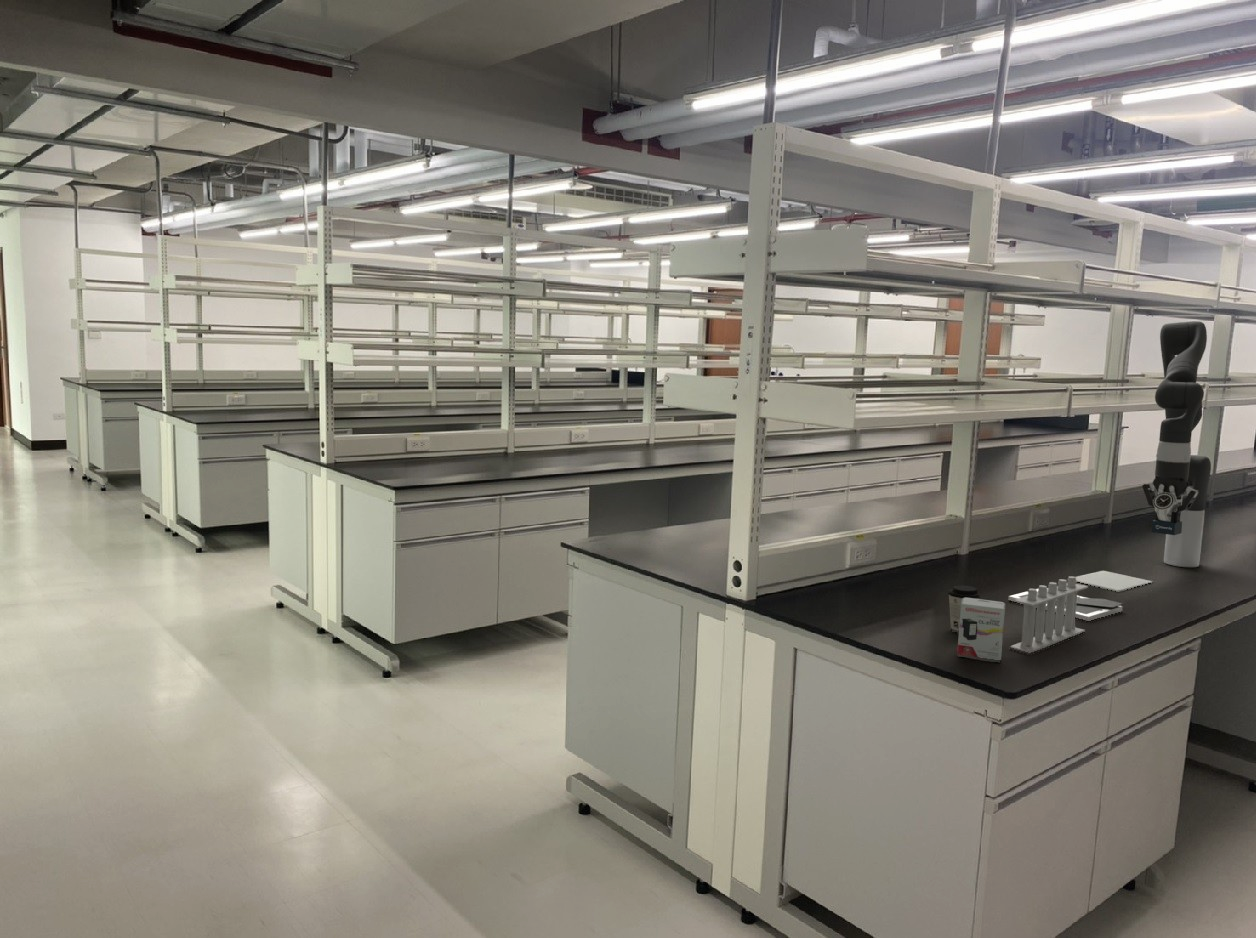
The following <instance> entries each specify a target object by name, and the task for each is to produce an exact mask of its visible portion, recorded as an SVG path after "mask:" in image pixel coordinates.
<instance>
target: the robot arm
mask: <svg viewBox="0 0 1256 938" xmlns="http://www.w3.org/2000/svg"><path fill="white" fill-rule="evenodd" d="M1207 333H1208V331H1207V327H1206V325H1205V323H1204V322H1202V321H1199V320H1197V321H1196V320H1194V321H1191V320H1190V321H1182V322H1181V321H1179V322H1170V323H1169V322H1168V323H1165V324H1163V325H1162V326H1161V329H1160V333H1159V341H1160V343H1159V344H1160V353H1161V360H1162V368H1163V377H1164V378H1163V380H1162V381H1161V382H1160V383H1159V385H1158V387H1157V388H1156V391H1155V394H1154V401H1155V403H1156V405H1157V406H1158V407H1160V408H1161V409H1164V413H1165V419H1163V420H1161V422H1160V427H1159V429H1160V431H1159V438H1158V440H1159V441H1158V446H1157V449H1156V456H1155V457H1156V460H1155V470H1154V479H1153V480H1152V482H1150V483H1149V482H1148V483H1143V484H1142V490H1143V492H1144V494H1145V498H1146V501H1147V503H1148V505H1149V506H1150V507H1153V508H1155V507H1154V505H1153V500H1154V498H1155V497H1156V496H1157V495H1158V494H1160V493H1164V492H1168V493H1170V494H1171V495H1172V496H1173V497H1174V499H1175V502H1177V504H1176V505H1174V506H1173V507H1172V509H1173V512H1172V515H1171V523H1172V522H1173V523H1174V522H1175V523H1178V522H1180V521H1182V533H1180V534H1177V535H1168V534H1165V545H1164V554H1163V563H1164V564H1167V565H1170V566H1174V567H1182V568H1197V567H1199V566H1200V559H1201V551H1202V543H1203V542H1202V541H1203V531H1204V523H1205V513H1206V511H1205V510H1206V503H1207V498H1208V488H1209V483H1210V478H1211V471H1212V464H1211V460H1210V458H1209V457H1208V456H1204V455H1193V454H1192V448H1191V447H1192V446H1191V442H1192V432H1193V431H1194V429H1195V428H1196V427H1197V425H1198V424H1199V423H1200V421H1201V420H1202V417H1203V399H1204V396H1205V394H1204V392H1205V390H1204V389H1203V386H1202V385H1201V384H1199V383H1197V381H1198V380H1197V378H1198V369H1199V366H1200V363H1201V361H1202V358H1203V356H1204V353H1205V351H1206V348H1207V342H1208V341H1207V340H1208V334H1207ZM1155 490H1156V492H1157V493H1155ZM1156 494H1157V495H1156ZM1154 520H1158V521H1160V520H1159V519H1158V516H1157V512H1155V516H1154Z"/></svg>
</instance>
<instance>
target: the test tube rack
mask: <svg viewBox="0 0 1256 938" xmlns="http://www.w3.org/2000/svg"><path fill="white" fill-rule="evenodd" d="M1067 577H1068V578H1067V579H1061V578H1060V579H1058V582H1055V581H1054V582H1053V581H1050V582H1049V583H1048V586H1047V585H1042V584H1041V585H1038V588H1029V589H1028V596H1025V597H1022V598H1019V599H1015V600H1014V602H1017V603H1021V604H1024V605H1023V617H1022V618H1023V619H1022V628H1021V630H1022V631H1021V642H1017V643H1016V644H1012V645H1010V646H1009V648H1010V647H1011V648H1014V649H1017V650H1021V651H1025V652H1028V653H1031V652H1034V651H1037V650H1040V649H1042V648H1045V647H1047V646H1050V645H1052V644H1055V643H1057V642H1059V641H1062V640H1064V639H1067V638H1069V637H1072V636H1075V635H1077V634H1080V633H1082V632H1085V633H1086V630H1085V629H1083V628H1079V627H1076V619H1075V616H1076V604H1077V596H1078V592H1080V591H1083V590H1085V589H1089V585H1085V584H1081V583H1077V582H1076V577H1077V576H1067ZM1047 588H1048V589H1047ZM1036 589H1038V592H1037V590H1036ZM1066 595H1067V596H1066ZM1056 599H1057V605H1056ZM1065 599H1066V608H1065ZM1046 602H1047V611H1045V610H1046ZM1017 603H1016V604H1017ZM1021 604H1020V605H1021ZM1036 605H1037V609H1036ZM1055 606H1056V614H1055ZM1064 611H1065V616H1064Z"/></svg>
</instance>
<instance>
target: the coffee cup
mask: <svg viewBox="0 0 1256 938" xmlns="http://www.w3.org/2000/svg"><path fill="white" fill-rule="evenodd" d="M947 594H948V603H949V617H950V618H949V619H950V620H949V621H950V629H951V628H952V629H954V630H957V631H959V624H960V613H961V601H962V598H974V599H980V598H981V594H980V592H978V589H977V588H976V587H974V586H968V585H962V584H961V585H955V586H953V588H951V589H948V591H947Z"/></svg>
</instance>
